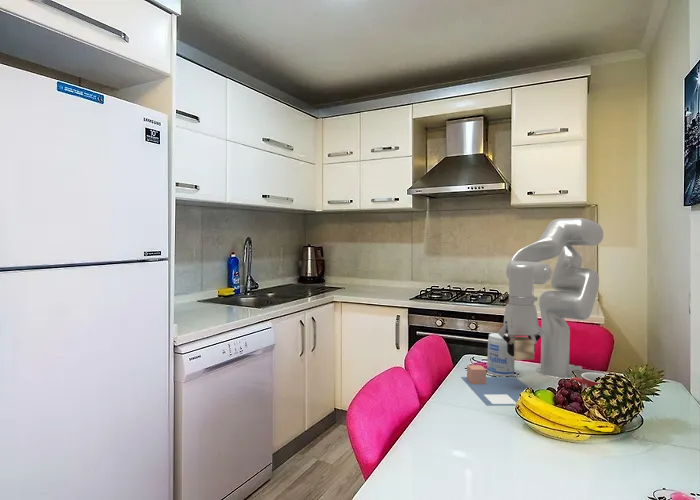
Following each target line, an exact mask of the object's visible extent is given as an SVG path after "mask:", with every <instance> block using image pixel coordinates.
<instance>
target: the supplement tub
mask: <svg viewBox="0 0 700 500" xmlns="http://www.w3.org/2000/svg"><path fill="white" fill-rule="evenodd" d="M504 334H505V335H506V336H508V333H504ZM486 359H487V361H486V373H487V372H488V373H489V374H491V375H494V376H498V377H512V376H514V374H515V360H516V359H514V358H513V357H511V356H510V355H509V354H508V352H507V342H506V341H505V340H504V339H503V338H502V337H501V336H500V335H499V334H498V332H494V333H493V332H492V333H489V334H488V339H487V358H486Z"/></svg>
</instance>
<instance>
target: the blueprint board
mask: <svg viewBox="0 0 700 500" xmlns="http://www.w3.org/2000/svg"><path fill="white" fill-rule="evenodd" d="M460 378H461V379H462V381H463V382H464V383H466V385H467V386H468V387H469V388H470V389H471V391H473V392H474V394H475V395H476V396H477V398H479V400H481V401H482V403H484V404H485V406H487V407H490V406H491V407H493V406H495V407H497V406H498V407H500V406H501V407H502V406H503V407H504V406H505V407H506V406H511V407H513V406H514V407H516V406H515V404H516V402H517V401H518V399H519V394H520V393H521V392H523V391H524V390H525V389H526V388H530V387H529V386H528V385H526V384H525V383H524V382H522V381H521V380H520V379H519V378H517V377H516V376H486V384H471V383H470V382H469V381H468V380H467V376H460Z"/></svg>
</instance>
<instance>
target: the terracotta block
mask: <svg viewBox="0 0 700 500" xmlns="http://www.w3.org/2000/svg"><path fill="white" fill-rule="evenodd" d="M466 377H467V380H468V381H469V382H470V383H471V384H486V377H487V368H485V367H484V366H482V365H481V364H480V365H479V364H478V365H477V364H474V365H473V364H471V365H470V364H469V365H467V366H466Z"/></svg>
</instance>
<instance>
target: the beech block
mask: <svg viewBox="0 0 700 500" xmlns="http://www.w3.org/2000/svg"><path fill="white" fill-rule="evenodd" d="M513 344H514V356H511V355H510V356H511V357H513V358H514V359H515V360H516V361H524V360H525V361H526V360H529V361H530V360H535V352H534V341H533V340H531V339H530V338H528V336H515V338H514V341H513Z"/></svg>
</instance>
